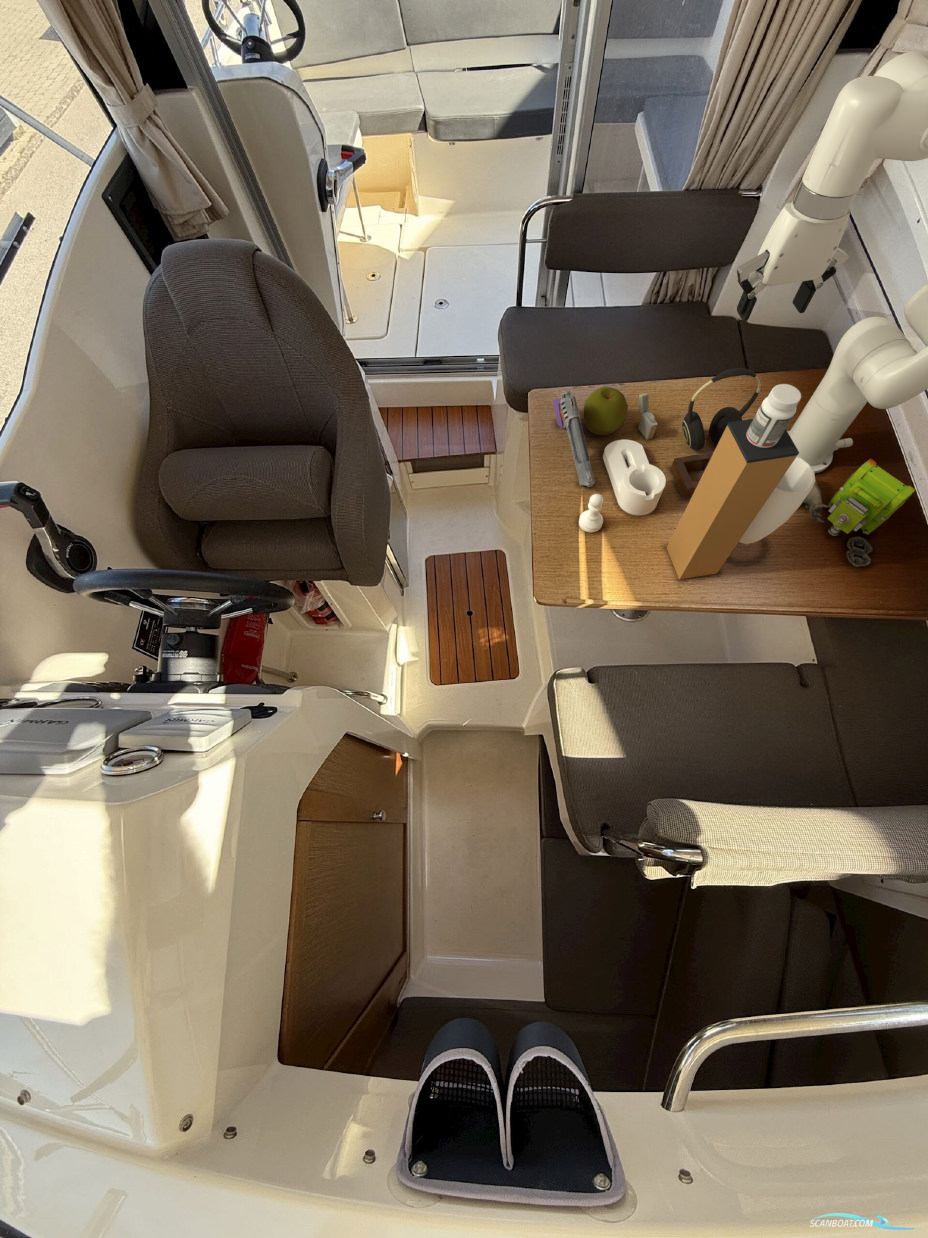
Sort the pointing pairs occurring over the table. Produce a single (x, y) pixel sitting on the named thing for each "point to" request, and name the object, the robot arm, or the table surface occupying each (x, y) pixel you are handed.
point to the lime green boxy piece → (866, 500)
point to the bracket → (633, 477)
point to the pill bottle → (773, 416)
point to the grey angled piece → (646, 417)
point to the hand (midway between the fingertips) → (769, 311)
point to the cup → (782, 501)
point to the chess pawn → (592, 515)
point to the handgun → (574, 436)
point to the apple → (605, 410)
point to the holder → (681, 474)
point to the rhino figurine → (815, 503)
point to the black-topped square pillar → (727, 499)
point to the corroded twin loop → (859, 551)
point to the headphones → (694, 425)
